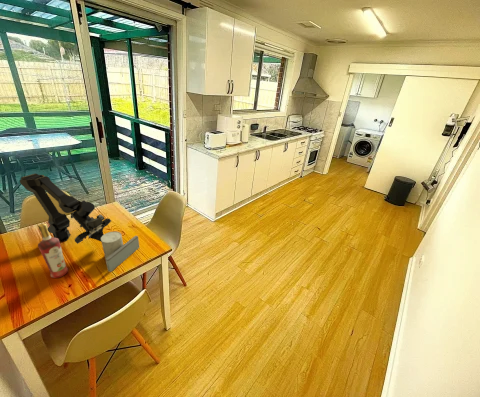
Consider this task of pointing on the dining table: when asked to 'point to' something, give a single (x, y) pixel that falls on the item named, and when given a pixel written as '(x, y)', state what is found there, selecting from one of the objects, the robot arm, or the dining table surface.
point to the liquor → (52, 253)
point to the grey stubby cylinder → (111, 242)
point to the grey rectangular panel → (122, 253)
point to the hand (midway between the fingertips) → (105, 242)
